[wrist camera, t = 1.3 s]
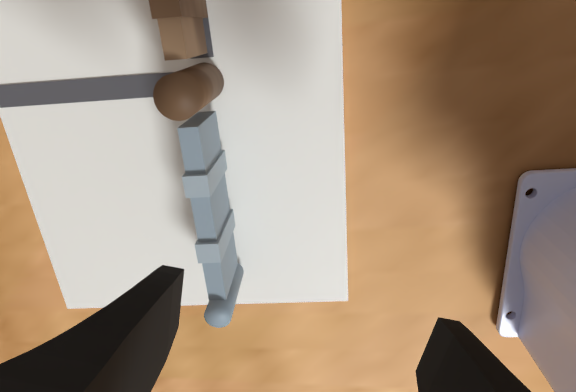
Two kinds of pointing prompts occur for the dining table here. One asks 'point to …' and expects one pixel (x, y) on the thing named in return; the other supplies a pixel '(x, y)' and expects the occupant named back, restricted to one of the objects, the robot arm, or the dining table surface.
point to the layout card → (166, 146)
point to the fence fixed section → (183, 45)
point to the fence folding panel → (211, 214)
